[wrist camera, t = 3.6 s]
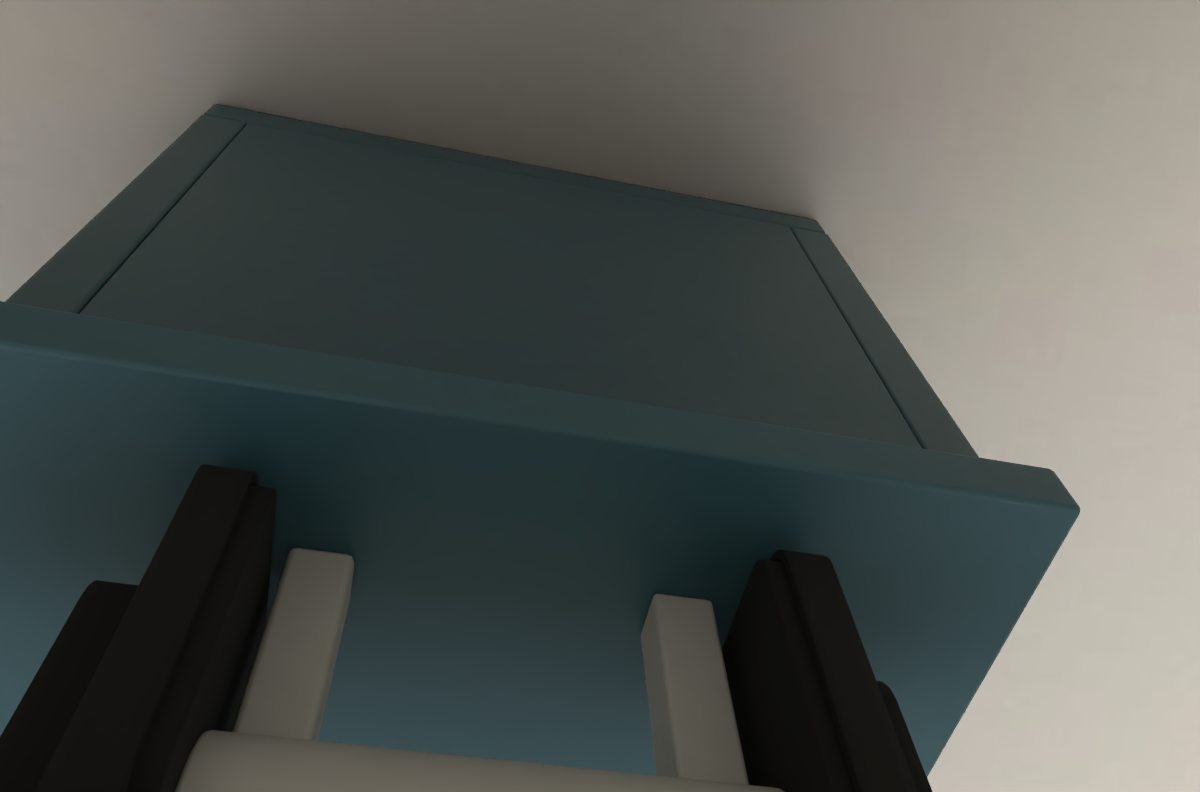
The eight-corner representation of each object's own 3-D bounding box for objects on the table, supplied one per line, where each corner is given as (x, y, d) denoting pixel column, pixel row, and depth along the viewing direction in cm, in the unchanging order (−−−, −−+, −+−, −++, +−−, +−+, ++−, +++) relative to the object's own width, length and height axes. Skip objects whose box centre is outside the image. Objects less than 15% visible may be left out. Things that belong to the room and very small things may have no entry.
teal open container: (213, 102, 19) (-37, 336, 11) (818, 219, 21) (1008, 497, 13) (196, 664, 26) (36, 1072, 18) (651, 714, 28) (702, 1106, 20)
